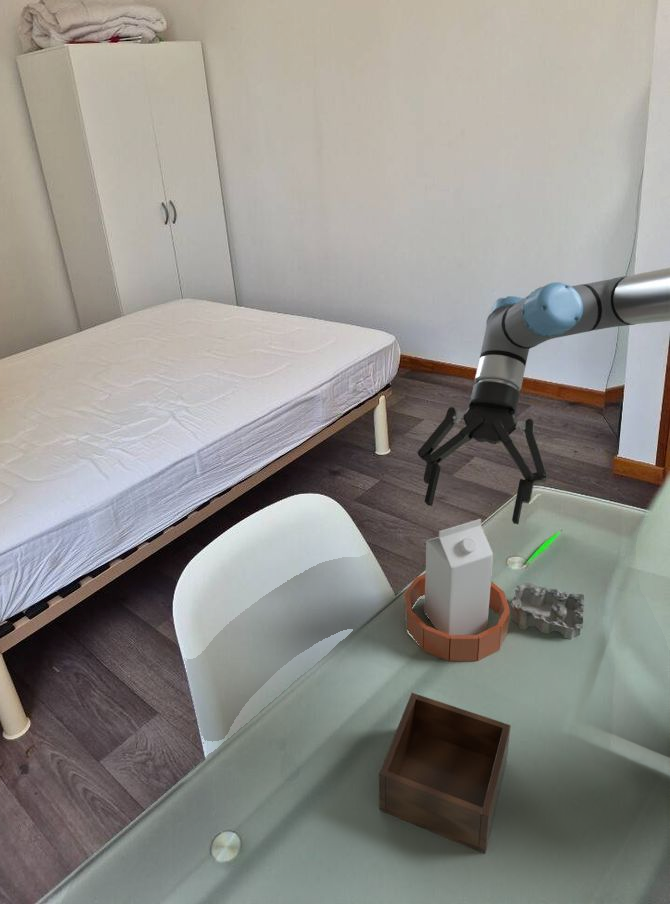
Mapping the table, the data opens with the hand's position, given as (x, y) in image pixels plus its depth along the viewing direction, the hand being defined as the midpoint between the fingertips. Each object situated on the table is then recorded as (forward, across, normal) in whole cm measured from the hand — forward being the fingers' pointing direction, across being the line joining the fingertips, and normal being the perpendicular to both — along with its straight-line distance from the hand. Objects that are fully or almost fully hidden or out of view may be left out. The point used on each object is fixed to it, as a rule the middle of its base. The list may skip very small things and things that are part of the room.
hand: (470, 513), depth 108 cm
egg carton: (+12, -13, -11) cm, 21 cm away
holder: (+36, -6, +13) cm, 39 cm away
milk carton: (+17, 0, -6) cm, 18 cm away
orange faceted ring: (+17, 0, -6) cm, 18 cm away
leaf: (0, -10, -23) cm, 25 cm away
